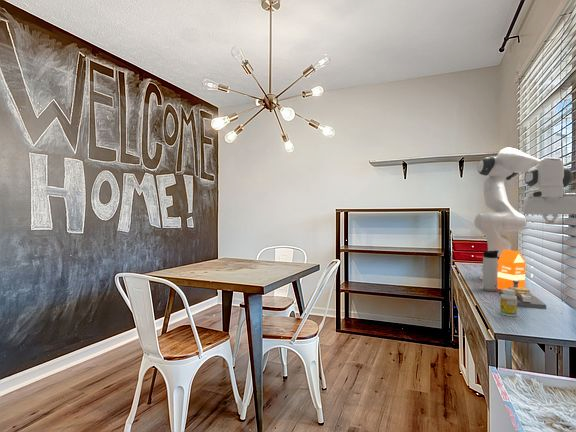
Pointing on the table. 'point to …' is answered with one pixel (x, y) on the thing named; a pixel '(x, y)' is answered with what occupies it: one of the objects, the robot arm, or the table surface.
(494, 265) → the travel mug
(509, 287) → the keeper clip
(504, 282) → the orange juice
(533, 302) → the base plate
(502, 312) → the supplement bottle
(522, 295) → the arm link
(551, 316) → the table surface
